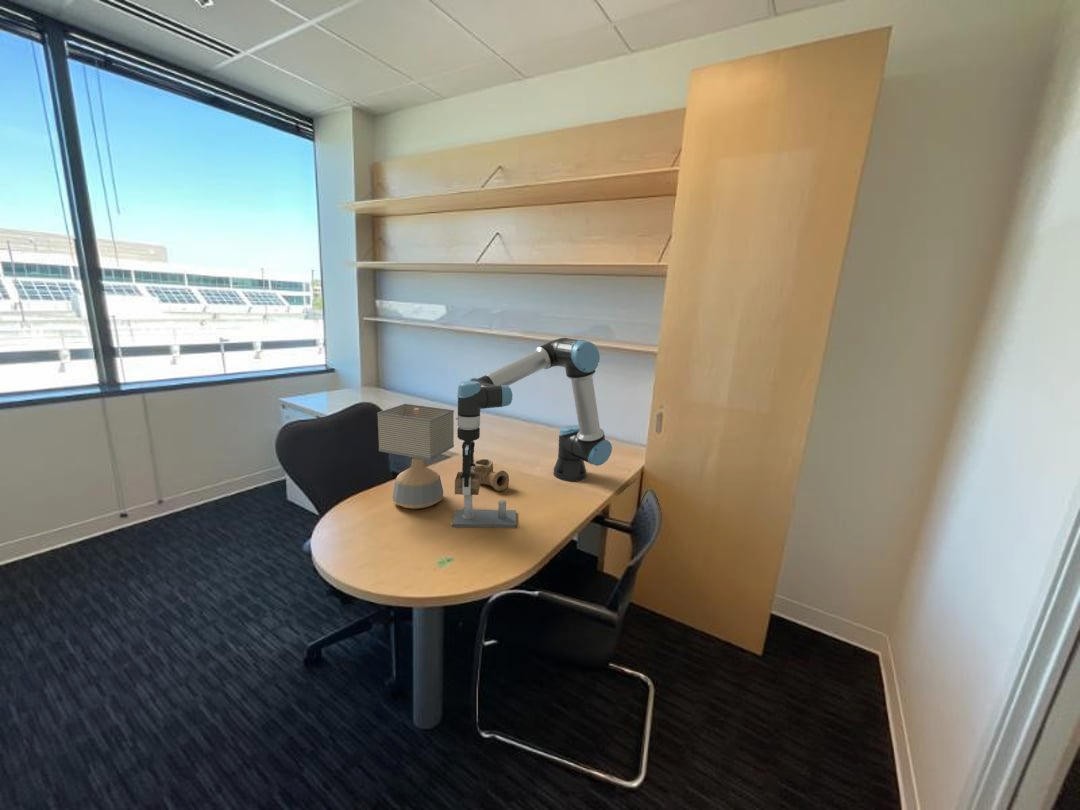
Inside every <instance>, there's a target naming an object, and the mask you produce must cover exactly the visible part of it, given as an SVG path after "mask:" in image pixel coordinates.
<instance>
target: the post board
mask: <svg viewBox="0 0 1080 810" xmlns="http://www.w3.org/2000/svg"><path fill="white" fill-rule="evenodd" d="M463 499H464V500H463V501H464V505H463V507H464V509H461V508H460V509H459V508H458V509H457V508H456V509H455V512H454V515H453V519H452V523H451V527H452V528H454V527H455V528H517V510H516V509H507V500H505V499H499V500H498V503H497V504H498V505H497V507H498V508H497V509H473V495H463Z"/></svg>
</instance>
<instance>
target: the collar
mask: <svg viewBox="0 0 1080 810" xmlns="http://www.w3.org/2000/svg"><path fill="white" fill-rule="evenodd" d="M470 475H471V495H472V496H474V495H475V496H477V495H478V496H479V492H480V489H481V484H480V472H470ZM460 476H462V471H457V473H456V476H455V479H454V495H458V496H459V495H462V487H463V478H460ZM462 496H463V495H462Z"/></svg>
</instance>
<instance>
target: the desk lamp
mask: <svg viewBox="0 0 1080 810" xmlns="http://www.w3.org/2000/svg"><path fill="white" fill-rule="evenodd" d="M454 411H455V410H454V409H450V408H449V409H447V408H440V407H434V406H432V407H431V406H424V405H417V404H410V403H402V404H400V405H397V406H393V407H390V408H388V409H384V410H381V411H378V412H377V413H376V414H377V415H376V416H377V428H378V429H377V431H378V432H377V433H378V452H380V453H381V452H383V453H387V454H393V455H397V456H398V455H399V456H404V457H405V456H406V457H411V458H412V459H411V465H410V467H409V468H406V469H405V470H403V471H402V472H400V473H399V474H398V475H397V476H396V477H395V482H394V486H393V492H392V501H393V503H395V505H397V506H401V507H402V508H406V509H410V510H411V509H412V510H413V509H414V510H418V509H419V510H420V509H425V508H428V507H431V506H433V505H435V504H437V503H439V502H440V501H441V500H442V499H443V498H444V488H443V483H442V480H441V476H440V474H439V472H437V471H436V470H433V469H432V468H429V467H427V466H425V463H424V462H425V461H424V460H426V461H427V460H428V461H431V460H434V459H435V458H437V457H439V456H440V455H442V454H444V453H446V452H448V451H449V450H451V449H453V448H454V447H455V445H454V443H455V442H454V438H455V436H454V432H455V431H454V430H455V429H454V426H455V425H454V423H455V422H454V420H455V419H454Z"/></svg>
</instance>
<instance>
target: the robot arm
mask: <svg viewBox="0 0 1080 810" xmlns="http://www.w3.org/2000/svg"><path fill="white" fill-rule="evenodd" d="M599 351H600V350H599V349H598V347H597V345H596V344H594V343H593V342H591V341H588V340H585V339H576V338H569V337H561V338H556V339H553V340H551V341H549V342H546V343H544V344H542V345H539V346H538V347H536V348H535V351H534V352H531V353H529V354H527V355H525V356H522V357H521V358H519V359H516V360H514V361H512V362H510V363H508V364H506V365H504V366H502V367H499V368H498V369H496V370H494V371H492V372H488V373H487V374H485V375H483V376H481V377H478V378H477V377H472V378H469V379H467V380H463V381H461V382H459V384H458V386H457V393H456V397H457V416H456V417H455V420H456V421H457V426H458V427H457V430H456V431H457V434H456V435H457V438H458V439H459V440H461V441H462V444H461V448H462V453H461V454H462V468H461V469H462V470H461V472H462V476H460V478H463V487H462V496H464V495H471V475H470V472H473V466H475V464H473V462H475V460H474V458H475V457H474V452H475V444H476V443H475V442H474V441H476V440H479V439H480V436H481V429H480V426H481V409H482V410H483V409H492V408H493V409H494V408H503V407H507V406H510V405H511V404H512V401H513V391H512V388H511V387H510V385H512V384H516V383H517V382H518V381H521V380H523V379H525V378H527V377H529V376H531V375H533V374H536V373H537V372H538V371H540V370H543V369H544V370H548V369H550V368H552V367H562V368H564V369H565V374H566V377H567V378H568V379H570V380H571V386H572V392H573V398H574V405H575V411H576V417H577V423H578V424H577V425H576V424H572V425H564V426H562V427H560V429H559V434H558V453H557V455H558V456H557V459H556V462H555V465H554V467H553V472H552V473H553V476H554V477H555V478H557V479H559V480H563V481H573V482H574V481H575V482H576V481H583V480H584V479H585V478H586V477H587V468H586V463H588V464H590V465H593V466H601V465H603V464H605V463H607V461H608V460H609V458H610V457H611V454H612V451H613V445H612V443H611V442H610V441H609V439H606V436H605V431H604V429H602V428H601V427H600V426H601V425H600V419H599V412H598V406H597V398H596V393H595V383H594V379H593V378H594V377H593V376H594V375H595V373H596V369H597V368H598V366H599V363H600V361H601V360H600V352H599Z"/></svg>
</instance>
